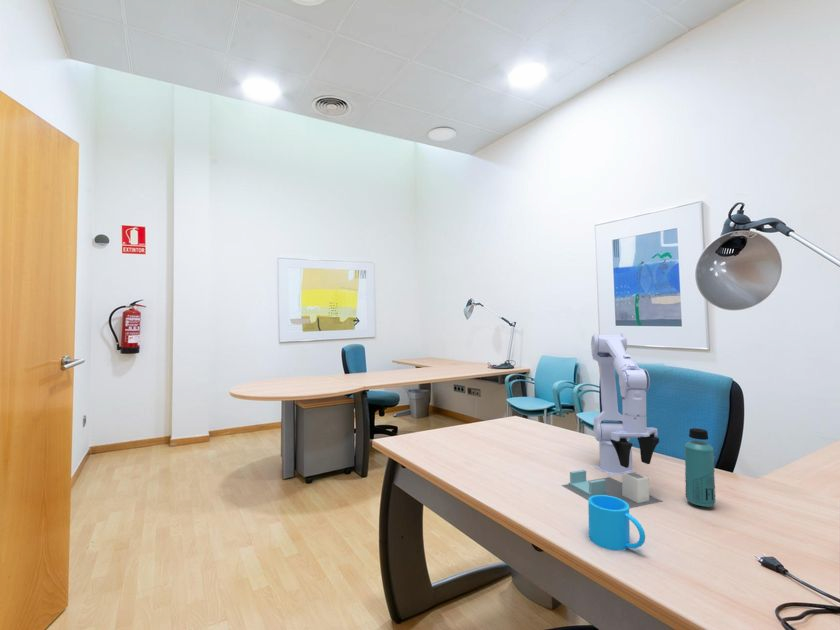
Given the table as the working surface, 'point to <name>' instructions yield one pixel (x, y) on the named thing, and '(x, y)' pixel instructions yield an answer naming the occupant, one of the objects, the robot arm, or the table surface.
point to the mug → (611, 523)
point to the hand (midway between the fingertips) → (635, 464)
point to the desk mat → (615, 493)
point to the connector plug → (635, 487)
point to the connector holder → (587, 484)
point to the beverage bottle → (699, 469)
